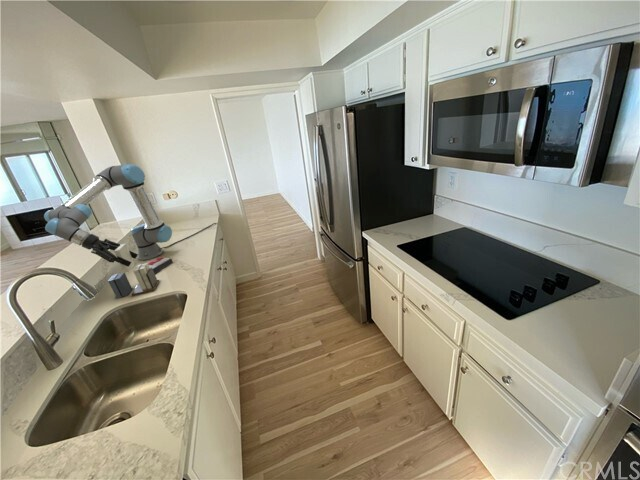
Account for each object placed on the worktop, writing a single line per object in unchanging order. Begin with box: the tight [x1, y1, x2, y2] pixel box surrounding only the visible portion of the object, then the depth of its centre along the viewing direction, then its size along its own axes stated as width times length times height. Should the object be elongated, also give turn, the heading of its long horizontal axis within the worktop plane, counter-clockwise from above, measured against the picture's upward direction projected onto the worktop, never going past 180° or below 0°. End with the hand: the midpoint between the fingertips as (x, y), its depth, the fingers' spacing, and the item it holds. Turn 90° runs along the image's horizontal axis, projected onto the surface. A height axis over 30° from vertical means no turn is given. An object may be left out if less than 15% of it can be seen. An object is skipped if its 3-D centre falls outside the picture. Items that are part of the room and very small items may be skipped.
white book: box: [113, 243, 136, 274], centre depth 140 cm, size 9×2×13 cm, turn 15°
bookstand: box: [131, 262, 160, 297], centre depth 147 cm, size 11×11×14 cm
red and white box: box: [147, 257, 173, 275], centre depth 172 cm, size 11×4×15 cm
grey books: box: [107, 272, 133, 299], centre depth 145 cm, size 7×5×11 cm
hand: (133, 260), depth 142 cm, fingers closed on white book, 9 cm apart
